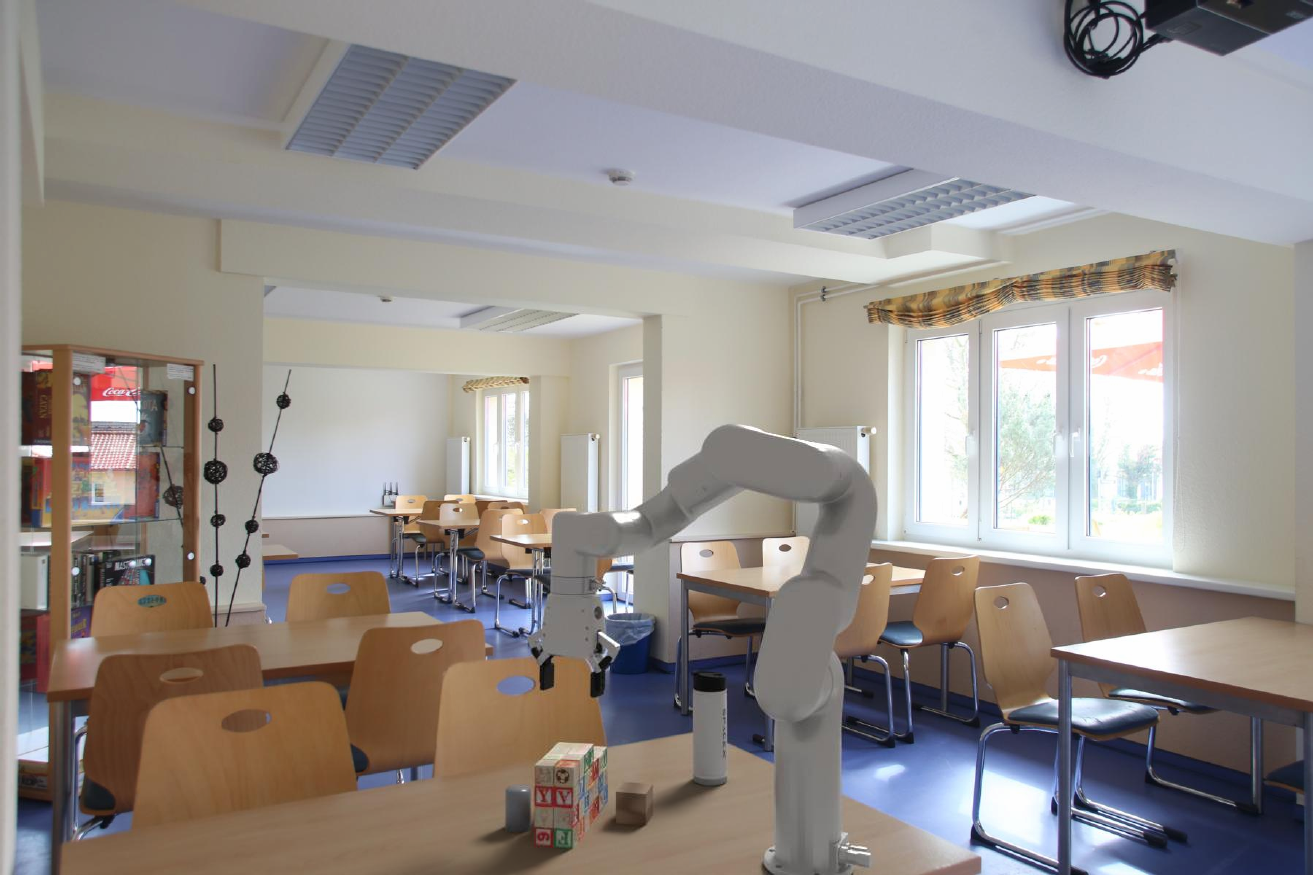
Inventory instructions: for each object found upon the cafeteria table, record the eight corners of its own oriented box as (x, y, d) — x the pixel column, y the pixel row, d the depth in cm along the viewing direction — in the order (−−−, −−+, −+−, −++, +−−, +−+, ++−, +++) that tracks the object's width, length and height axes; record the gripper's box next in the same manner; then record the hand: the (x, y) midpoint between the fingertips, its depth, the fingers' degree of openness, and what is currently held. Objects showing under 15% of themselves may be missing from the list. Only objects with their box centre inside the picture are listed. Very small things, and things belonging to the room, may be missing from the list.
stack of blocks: (573, 798, 155) (573, 726, 156) (608, 801, 154) (608, 728, 155) (533, 847, 134) (533, 763, 135) (573, 850, 133) (573, 765, 134)
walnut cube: (652, 814, 147) (652, 783, 148) (645, 825, 143) (646, 793, 143) (623, 812, 149) (623, 781, 149) (615, 823, 144) (615, 791, 144)
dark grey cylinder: (535, 825, 142) (535, 787, 143) (520, 834, 139) (521, 794, 139) (515, 821, 144) (515, 783, 145) (499, 829, 141) (500, 790, 141)
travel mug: (686, 777, 166) (686, 668, 168) (719, 773, 168) (719, 666, 170) (698, 787, 161) (697, 674, 162) (732, 783, 163) (731, 672, 164)
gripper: (630, 587, 146) (629, 694, 145) (543, 581, 154) (541, 681, 153) (607, 592, 139) (605, 703, 138) (516, 585, 147) (514, 690, 146)
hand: (571, 692), depth 145 cm, fingers open, 9 cm apart
